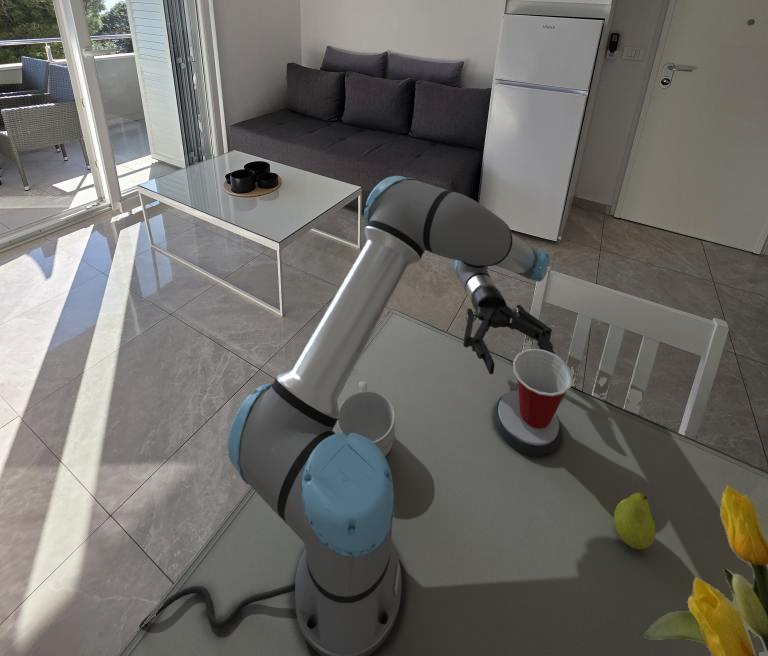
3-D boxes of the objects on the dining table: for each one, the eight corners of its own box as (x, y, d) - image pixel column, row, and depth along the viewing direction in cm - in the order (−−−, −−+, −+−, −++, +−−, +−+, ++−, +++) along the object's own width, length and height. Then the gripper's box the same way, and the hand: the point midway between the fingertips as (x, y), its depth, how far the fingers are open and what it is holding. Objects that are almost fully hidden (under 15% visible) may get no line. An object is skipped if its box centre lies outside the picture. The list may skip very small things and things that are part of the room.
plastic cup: (500, 391, 91) (506, 345, 87) (551, 393, 91) (560, 348, 87) (513, 440, 80) (522, 392, 77) (571, 443, 80) (582, 394, 76)
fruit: (637, 516, 71) (653, 465, 68) (658, 560, 66) (677, 507, 62) (602, 516, 71) (617, 465, 68) (621, 559, 66) (638, 506, 62)
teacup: (393, 477, 76) (394, 444, 74) (332, 473, 77) (332, 440, 74) (394, 407, 89) (396, 377, 87) (343, 404, 90) (343, 374, 87)
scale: (506, 457, 80) (508, 446, 79) (487, 399, 92) (488, 389, 91) (570, 454, 81) (572, 444, 80) (543, 397, 93) (545, 387, 92)
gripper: (530, 306, 110) (577, 374, 90) (436, 313, 106) (463, 386, 86) (534, 281, 108) (583, 345, 88) (438, 288, 104) (466, 356, 84)
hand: (524, 365), depth 87 cm, fingers open, 13 cm apart
